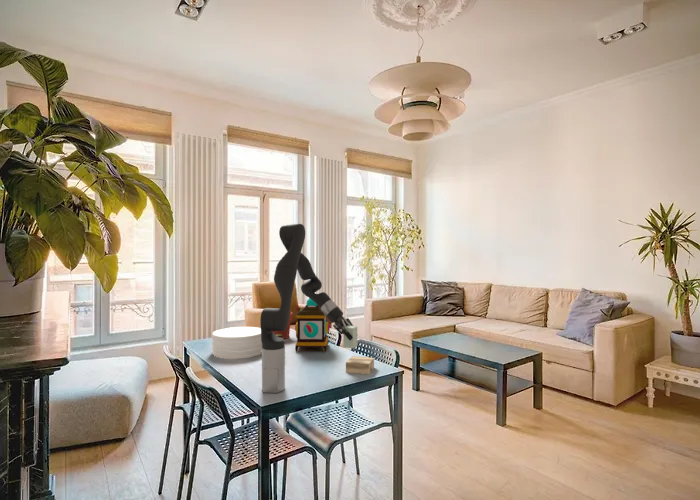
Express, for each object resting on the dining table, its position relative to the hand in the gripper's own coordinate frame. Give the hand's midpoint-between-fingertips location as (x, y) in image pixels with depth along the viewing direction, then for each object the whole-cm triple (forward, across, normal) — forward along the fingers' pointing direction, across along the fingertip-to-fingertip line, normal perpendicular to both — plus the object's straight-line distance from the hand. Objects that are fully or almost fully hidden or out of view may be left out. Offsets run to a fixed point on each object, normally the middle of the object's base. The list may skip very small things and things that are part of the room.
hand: (353, 337), depth 190 cm
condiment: (-21, 0, +43) cm, 48 cm away
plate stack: (-39, +1, +61) cm, 73 cm away
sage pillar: (+2, 0, +4) cm, 5 cm away
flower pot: (-39, +40, +61) cm, 83 cm away
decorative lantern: (-16, +25, +38) cm, 48 cm away
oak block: (+13, 0, +8) cm, 16 cm away
